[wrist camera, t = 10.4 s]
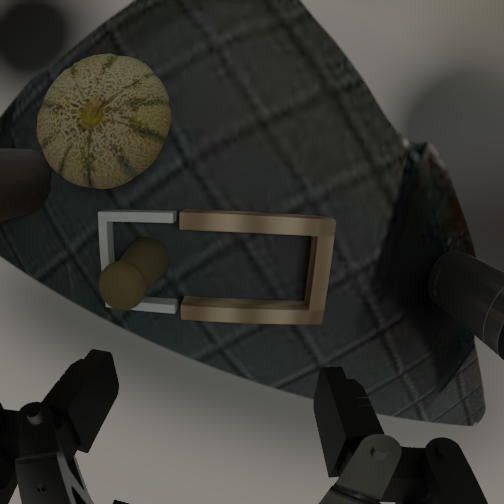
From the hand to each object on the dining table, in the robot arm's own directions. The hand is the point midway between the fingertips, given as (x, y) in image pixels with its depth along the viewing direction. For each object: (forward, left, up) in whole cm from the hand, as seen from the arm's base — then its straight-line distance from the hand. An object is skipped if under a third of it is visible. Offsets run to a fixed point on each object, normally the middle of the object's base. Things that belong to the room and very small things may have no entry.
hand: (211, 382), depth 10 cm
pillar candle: (+31, -7, -28) cm, 43 cm away
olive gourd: (+11, +4, -28) cm, 31 cm away
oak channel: (-3, +4, -28) cm, 28 cm away
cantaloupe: (+14, -13, -28) cm, 34 cm away
